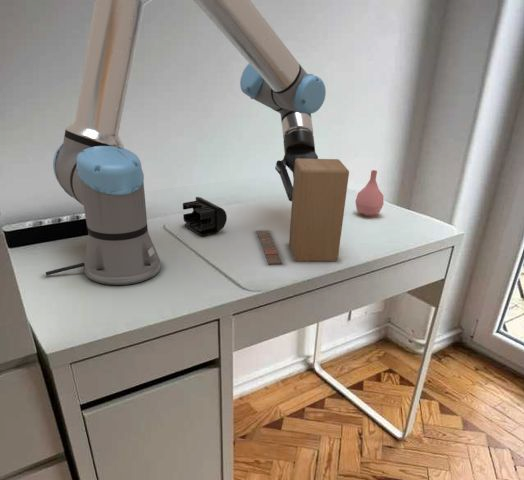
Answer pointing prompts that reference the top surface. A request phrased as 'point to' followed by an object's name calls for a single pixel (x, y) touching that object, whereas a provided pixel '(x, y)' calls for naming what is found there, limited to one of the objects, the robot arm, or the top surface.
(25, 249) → the top surface
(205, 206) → the end cap
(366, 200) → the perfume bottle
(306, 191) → the wooden block
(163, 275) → the top surface
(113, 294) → the top surface
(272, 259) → the ruler
